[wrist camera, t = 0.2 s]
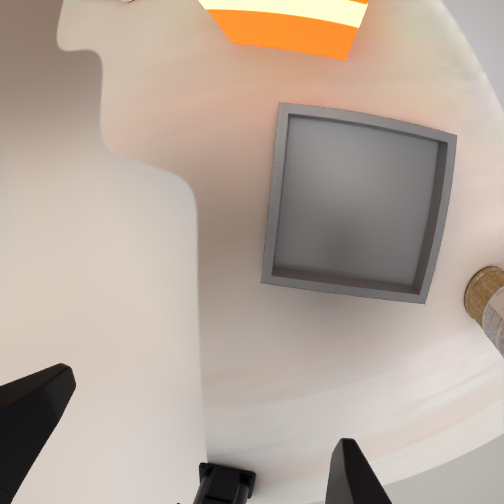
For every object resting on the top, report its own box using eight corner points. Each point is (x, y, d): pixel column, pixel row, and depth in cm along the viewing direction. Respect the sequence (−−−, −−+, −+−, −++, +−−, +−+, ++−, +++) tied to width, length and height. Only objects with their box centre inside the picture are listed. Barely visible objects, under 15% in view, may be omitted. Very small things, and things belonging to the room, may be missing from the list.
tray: (415, 290, 21) (424, 304, 19) (265, 271, 22) (260, 283, 20) (443, 136, 17) (457, 135, 15) (281, 108, 19) (278, 102, 17)
